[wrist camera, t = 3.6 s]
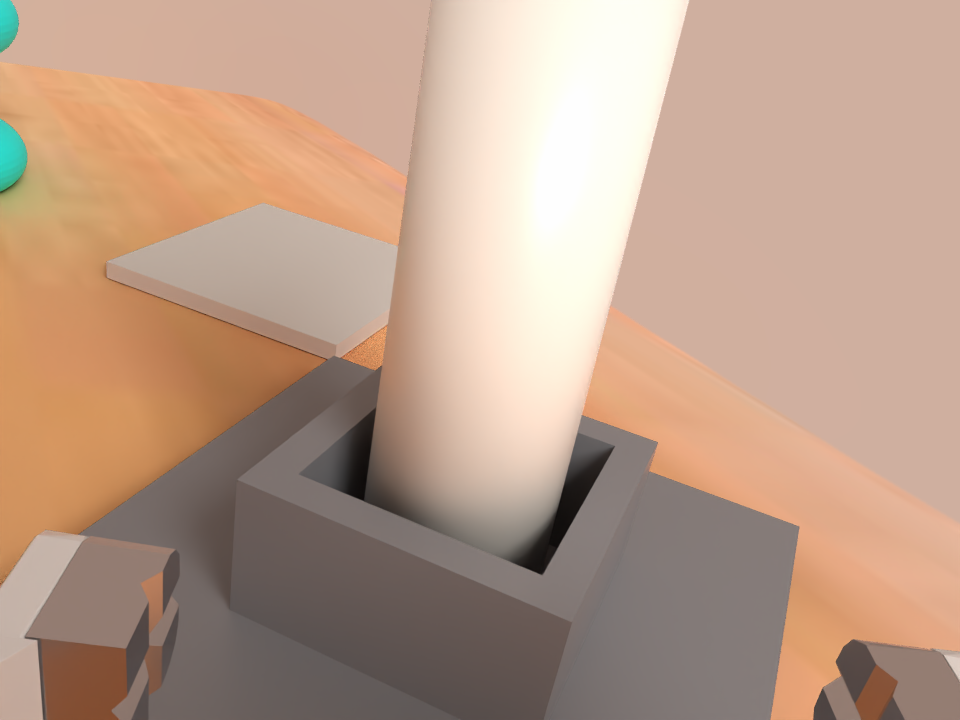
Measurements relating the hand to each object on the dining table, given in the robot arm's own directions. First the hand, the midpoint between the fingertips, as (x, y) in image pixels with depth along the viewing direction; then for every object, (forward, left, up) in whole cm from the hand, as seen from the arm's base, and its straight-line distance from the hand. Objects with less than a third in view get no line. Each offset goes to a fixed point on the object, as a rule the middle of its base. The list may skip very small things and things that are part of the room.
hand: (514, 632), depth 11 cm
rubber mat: (-20, +27, -10) cm, 35 cm away
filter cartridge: (-4, +10, -9) cm, 14 cm away
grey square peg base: (-4, +10, -10) cm, 15 cm away
